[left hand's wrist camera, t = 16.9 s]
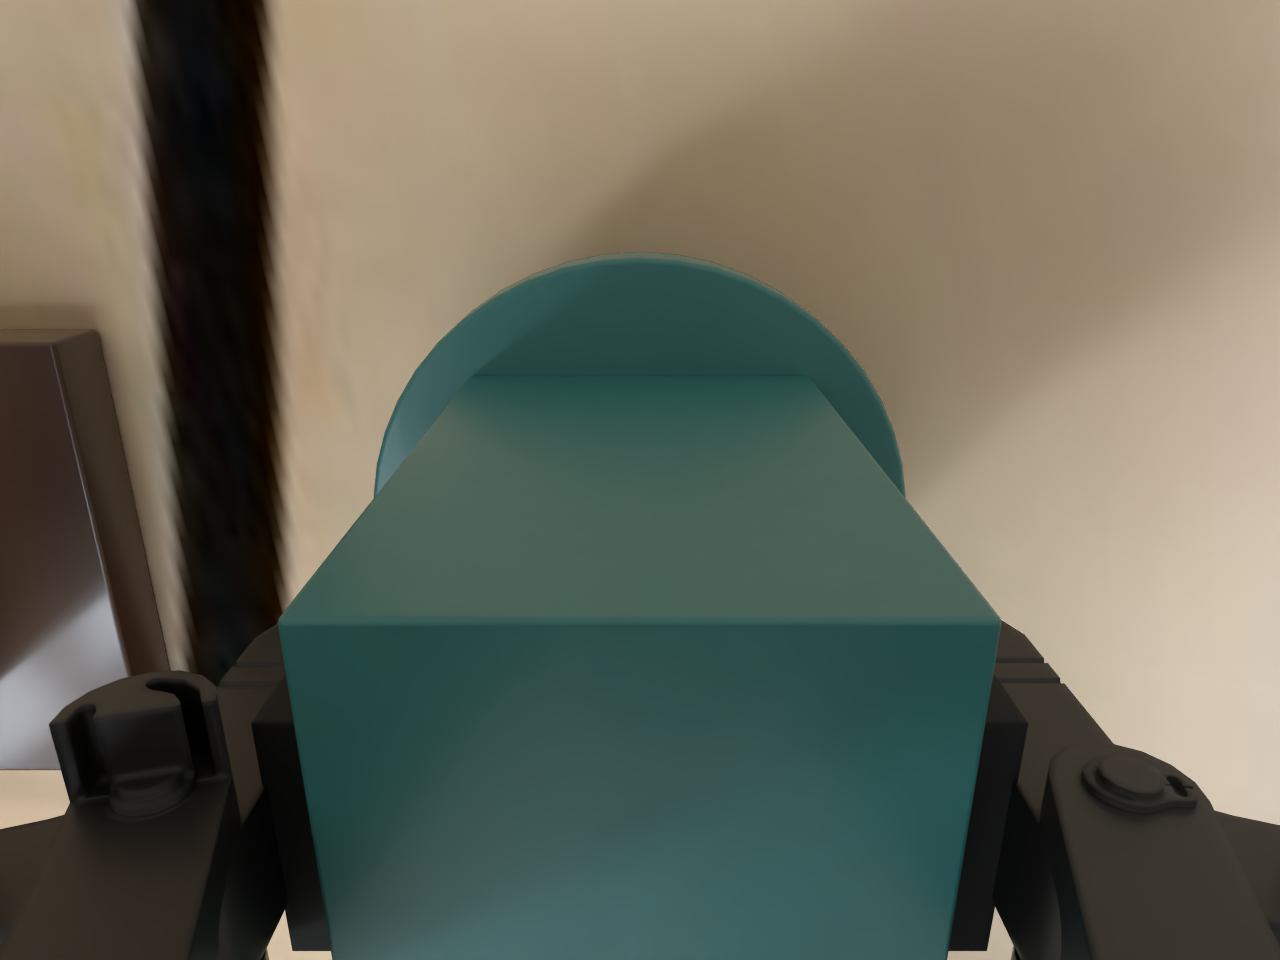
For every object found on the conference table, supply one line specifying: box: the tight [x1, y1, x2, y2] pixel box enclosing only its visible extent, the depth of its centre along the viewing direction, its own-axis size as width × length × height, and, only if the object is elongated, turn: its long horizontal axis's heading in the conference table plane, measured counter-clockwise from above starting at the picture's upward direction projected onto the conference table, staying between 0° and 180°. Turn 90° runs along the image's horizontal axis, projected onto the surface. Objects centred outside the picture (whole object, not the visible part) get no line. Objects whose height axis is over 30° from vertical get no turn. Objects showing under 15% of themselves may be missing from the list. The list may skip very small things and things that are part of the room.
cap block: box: [278, 252, 1001, 960], centre depth 12 cm, size 9×9×9 cm
